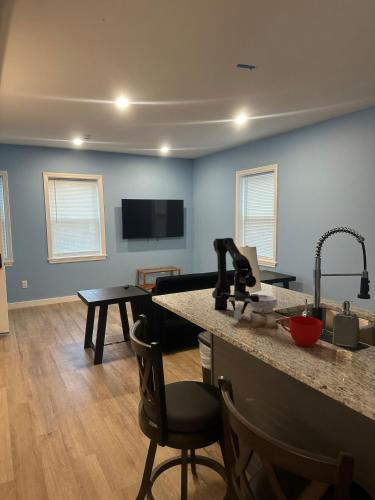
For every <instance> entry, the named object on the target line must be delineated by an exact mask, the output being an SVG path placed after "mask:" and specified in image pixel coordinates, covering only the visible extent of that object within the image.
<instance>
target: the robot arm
mask: <svg viewBox="0 0 375 500" xmlns="http://www.w3.org/2000/svg"><path fill="white" fill-rule="evenodd" d="M234 241H235V240H234V239H233V238H232V237H223V238H215V239H214V240H213V243H212V245H213V251H215V253H216V257H217V281H216V283H215V285H214V286H215V288H214V290H213V292H212V293H211V295H212V298H213V299H214V309H213V310H216V311H217V310H218V311H226V310H227V309H228V303H230V304H231V305H232V309H233V311H234V310H235V309H236V302H242V303H243V305H242V306H243V312H242V314H243V315H244V313H245V310H246V309H247V306H249V303H251V301H252V302H259V295H260V294H257V293H250V291H249V290H247V287H248V288H253V287H255V286H256V285H257V278H256V277H255V276H254V273H253V268H252V266H251V263H250V260H249V259H248V258H247V257H246V256H245V255H244V254H242V253H241V251H240V250H239V248H238V247H237V244H236V243H235V242H234ZM227 253H228V254H229V255H230V257H231V259H232V262H231V263H232V264H231V265H232V267H233V269H234V270H233V273H234V287H233V288H234V290H233V294H231V293H232V290H231V283H230V282H229V281H228V278H227V277H228V276H227V274H228V273H227V271H228V270H227ZM250 300H251V301H250Z"/></svg>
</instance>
